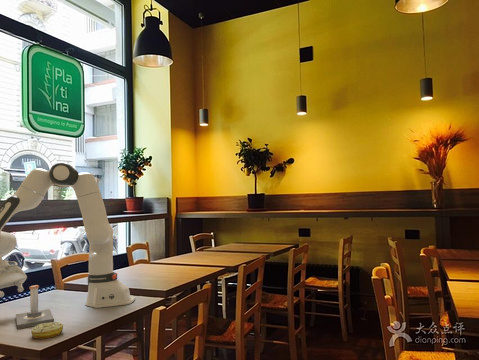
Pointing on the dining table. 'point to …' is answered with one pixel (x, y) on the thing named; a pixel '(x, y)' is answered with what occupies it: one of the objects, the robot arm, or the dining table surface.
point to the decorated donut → (47, 330)
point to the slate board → (33, 319)
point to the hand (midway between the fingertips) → (12, 293)
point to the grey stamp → (34, 302)
